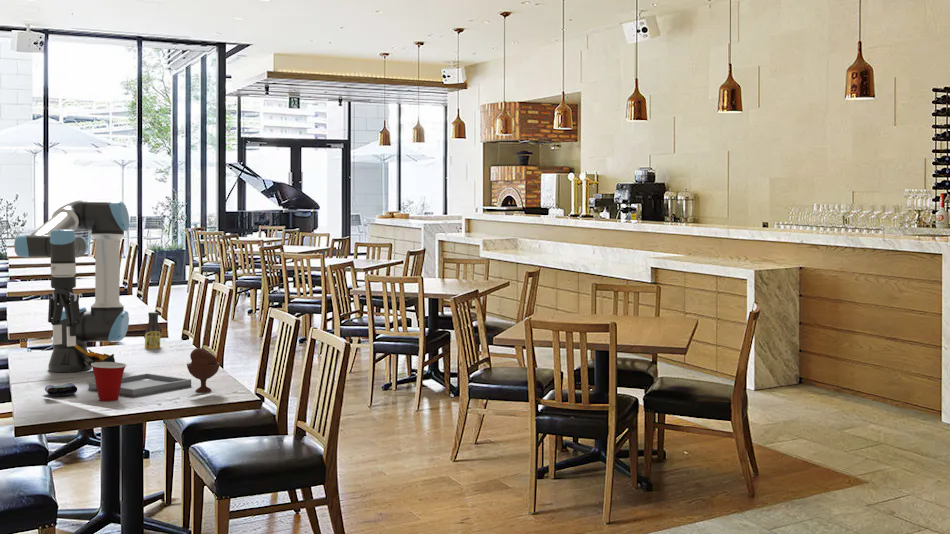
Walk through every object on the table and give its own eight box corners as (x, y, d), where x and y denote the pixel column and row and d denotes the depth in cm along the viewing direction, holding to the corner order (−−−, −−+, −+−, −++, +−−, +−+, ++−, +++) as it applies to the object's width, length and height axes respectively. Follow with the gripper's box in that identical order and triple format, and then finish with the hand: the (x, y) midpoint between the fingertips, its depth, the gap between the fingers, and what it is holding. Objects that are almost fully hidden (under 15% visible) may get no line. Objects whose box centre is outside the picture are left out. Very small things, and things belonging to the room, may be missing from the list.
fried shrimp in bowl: (124, 365, 335) (99, 324, 333) (98, 380, 328) (72, 338, 326) (116, 368, 342) (92, 328, 340) (91, 383, 335) (65, 342, 333)
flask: (46, 388, 290) (43, 384, 299) (47, 397, 290) (44, 393, 299) (77, 385, 294) (73, 382, 304) (78, 393, 294) (73, 390, 304)
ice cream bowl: (202, 395, 296) (202, 350, 296) (180, 392, 302) (179, 348, 301) (226, 390, 305) (226, 347, 305) (204, 387, 311) (204, 345, 310)
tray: (88, 389, 305) (88, 382, 305) (147, 380, 326) (147, 373, 326) (132, 397, 293) (132, 389, 292) (191, 386, 313) (191, 379, 313)
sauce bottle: (145, 359, 377) (145, 313, 376) (143, 357, 382) (143, 312, 381) (161, 358, 380) (161, 312, 379) (159, 356, 385) (159, 311, 384)
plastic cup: (126, 401, 285) (126, 364, 284) (90, 403, 281) (89, 366, 281) (127, 395, 295) (127, 360, 295) (92, 397, 292) (92, 361, 291)
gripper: (35, 275, 295) (36, 344, 296) (70, 277, 284) (71, 348, 285) (56, 274, 301) (57, 341, 302) (91, 276, 291) (92, 346, 291)
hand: (64, 345), depth 294 cm, fingers open, 7 cm apart
